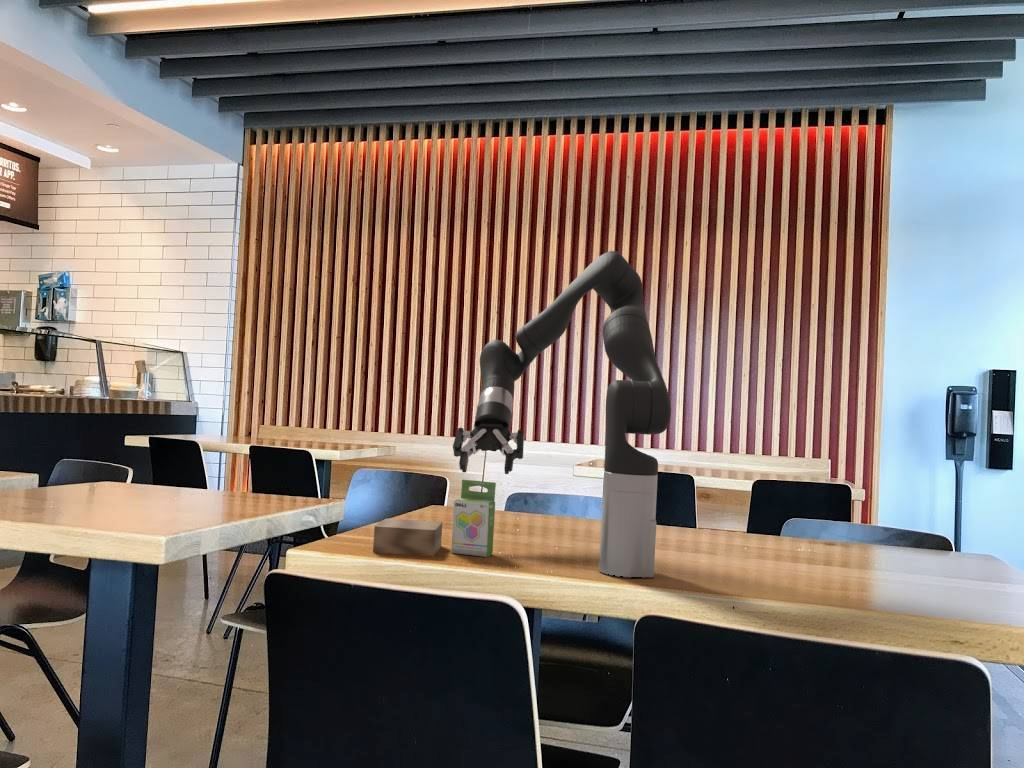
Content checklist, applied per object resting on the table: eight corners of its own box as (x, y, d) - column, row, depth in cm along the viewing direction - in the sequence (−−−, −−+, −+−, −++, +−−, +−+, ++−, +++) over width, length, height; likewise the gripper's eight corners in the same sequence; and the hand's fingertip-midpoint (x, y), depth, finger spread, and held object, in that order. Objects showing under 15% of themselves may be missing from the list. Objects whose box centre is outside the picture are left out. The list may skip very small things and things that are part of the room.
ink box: (450, 553, 148) (454, 480, 149) (457, 550, 152) (462, 479, 152) (486, 557, 146) (490, 483, 147) (492, 554, 150) (497, 482, 150)
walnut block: (441, 547, 156) (442, 521, 156) (433, 558, 145) (435, 530, 145) (384, 544, 156) (386, 518, 156) (372, 554, 145) (374, 526, 145)
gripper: (528, 426, 173) (521, 484, 161) (462, 423, 175) (451, 481, 163) (526, 401, 168) (519, 459, 156) (459, 399, 170) (447, 456, 158)
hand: (484, 470), depth 160 cm, fingers open, 8 cm apart
